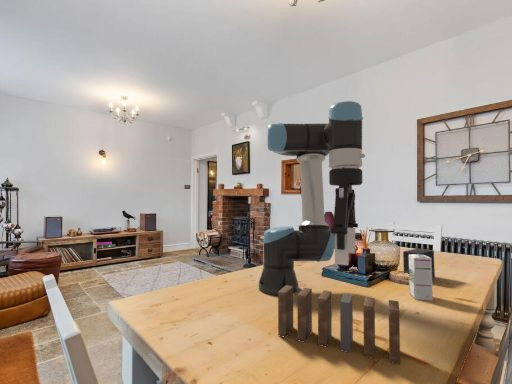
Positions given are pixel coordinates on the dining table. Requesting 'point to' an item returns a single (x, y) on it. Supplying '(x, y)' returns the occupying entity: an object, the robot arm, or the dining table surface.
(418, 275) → the syrup box
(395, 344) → the domino
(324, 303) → the domino
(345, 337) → the domino
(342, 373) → the dining table surface
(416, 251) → the small box
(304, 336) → the domino
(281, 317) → the domino
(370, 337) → the domino
